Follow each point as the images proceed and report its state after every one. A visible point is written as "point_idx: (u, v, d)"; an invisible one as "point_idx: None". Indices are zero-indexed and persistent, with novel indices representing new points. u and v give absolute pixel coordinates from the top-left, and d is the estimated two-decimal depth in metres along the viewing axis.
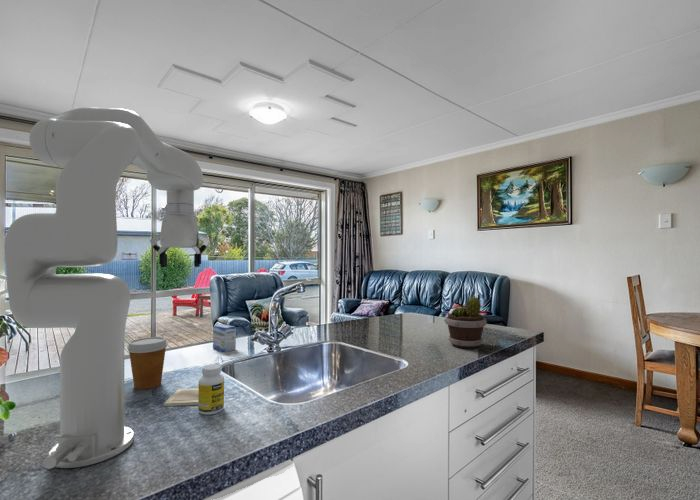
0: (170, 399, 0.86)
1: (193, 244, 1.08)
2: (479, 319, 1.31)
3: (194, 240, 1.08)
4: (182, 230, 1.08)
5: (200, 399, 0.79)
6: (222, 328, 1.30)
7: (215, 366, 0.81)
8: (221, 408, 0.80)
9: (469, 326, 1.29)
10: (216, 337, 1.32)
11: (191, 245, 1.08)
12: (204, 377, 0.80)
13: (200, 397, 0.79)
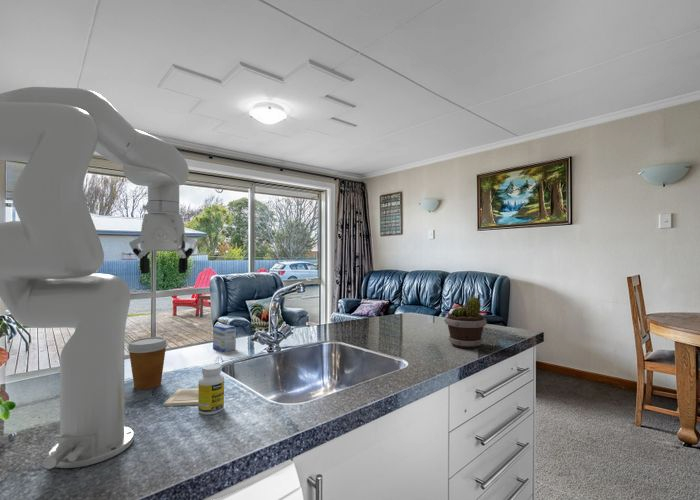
0: (170, 399, 0.86)
1: (177, 247, 0.95)
2: (479, 319, 1.31)
3: (178, 243, 0.95)
4: (164, 231, 0.94)
5: (200, 399, 0.79)
6: (222, 328, 1.30)
7: (215, 366, 0.81)
8: (221, 408, 0.80)
9: (469, 326, 1.29)
10: (216, 337, 1.32)
11: (175, 248, 0.94)
12: (204, 377, 0.80)
13: (200, 397, 0.79)
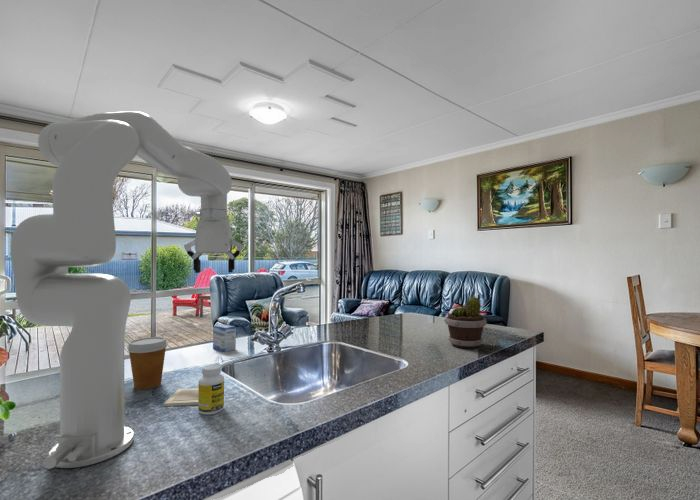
0: (170, 399, 0.86)
1: (227, 250, 1.08)
2: (479, 319, 1.31)
3: (228, 246, 1.08)
4: (216, 236, 1.07)
5: (200, 399, 0.79)
6: (222, 328, 1.30)
7: (215, 366, 0.81)
8: (221, 408, 0.80)
9: (469, 326, 1.29)
10: (216, 337, 1.32)
11: (225, 251, 1.08)
12: (204, 377, 0.80)
13: (200, 397, 0.79)
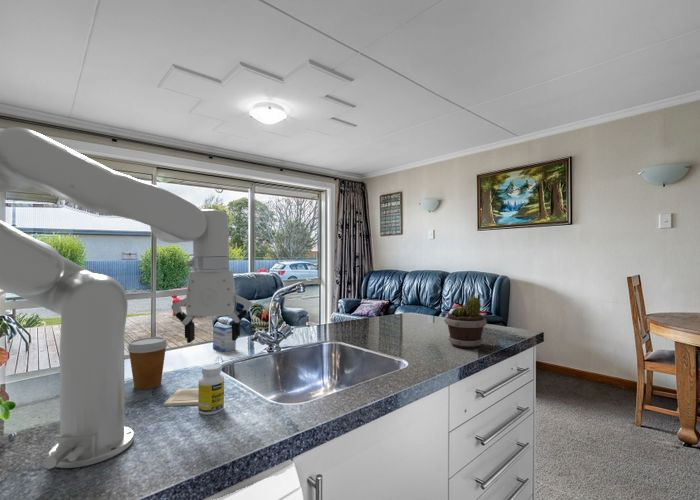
0: (170, 399, 0.86)
1: (230, 311, 0.80)
2: (479, 319, 1.31)
3: (232, 306, 0.80)
4: (215, 293, 0.79)
5: (200, 399, 0.79)
6: (222, 328, 1.30)
7: (215, 366, 0.81)
8: (221, 408, 0.80)
9: (469, 326, 1.29)
10: (216, 337, 1.32)
11: (228, 313, 0.79)
12: (204, 377, 0.80)
13: (200, 397, 0.79)
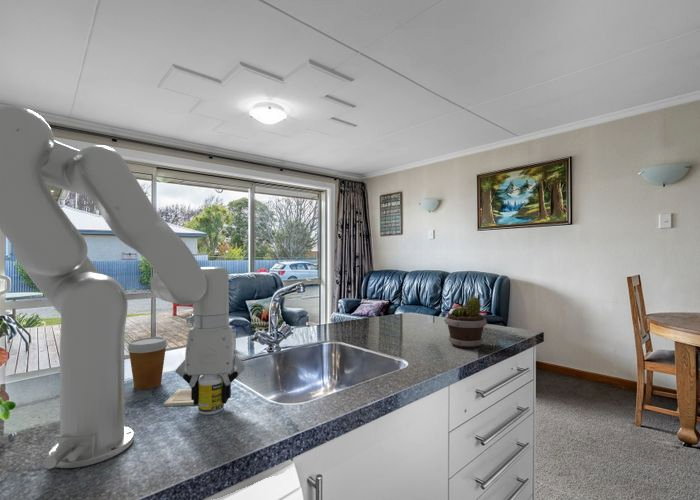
0: (170, 399, 0.86)
1: (229, 370, 0.79)
2: (479, 319, 1.31)
3: (231, 364, 0.79)
4: (214, 351, 0.79)
5: (200, 399, 0.79)
6: None
7: None
8: (221, 408, 0.80)
9: (469, 326, 1.29)
10: None
11: (227, 371, 0.79)
12: (204, 377, 0.80)
13: (200, 397, 0.79)
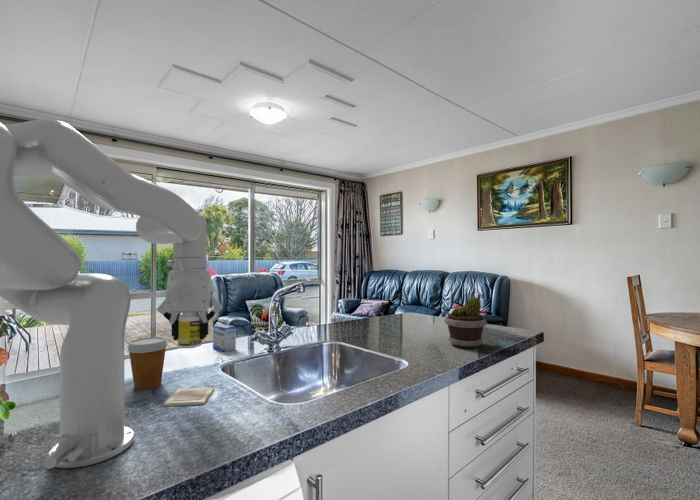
0: (170, 399, 0.86)
1: (206, 308, 0.86)
2: (479, 319, 1.31)
3: (207, 302, 0.87)
4: (192, 290, 0.86)
5: (179, 334, 0.86)
6: (222, 328, 1.30)
7: None
8: (199, 343, 0.88)
9: (469, 326, 1.29)
10: (216, 337, 1.32)
11: (204, 309, 0.86)
12: (183, 315, 0.87)
13: (179, 332, 0.86)
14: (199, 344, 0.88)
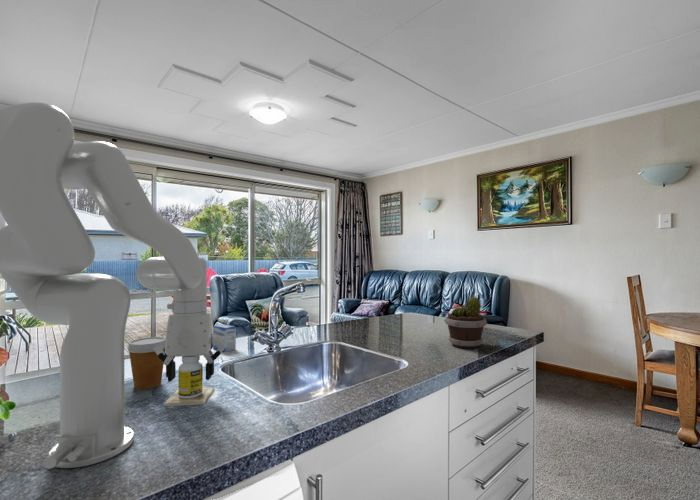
0: (170, 399, 0.86)
1: (206, 351, 0.86)
2: (479, 319, 1.31)
3: (207, 346, 0.87)
4: (192, 335, 0.86)
5: (180, 384, 0.86)
6: (222, 328, 1.30)
7: None
8: (199, 393, 0.88)
9: (469, 326, 1.29)
10: (216, 337, 1.32)
11: (204, 353, 0.86)
12: (184, 364, 0.87)
13: (180, 382, 0.86)
14: (199, 393, 0.88)
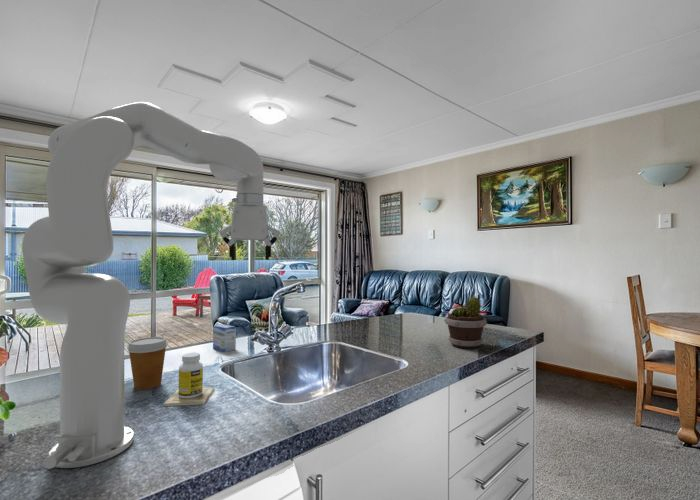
0: (170, 399, 0.86)
1: (265, 236, 1.04)
2: (479, 319, 1.31)
3: (266, 232, 1.04)
4: (253, 221, 1.03)
5: (180, 384, 0.86)
6: (222, 328, 1.30)
7: (194, 354, 0.88)
8: (200, 392, 0.88)
9: (469, 326, 1.29)
10: (216, 337, 1.32)
11: (263, 237, 1.04)
12: (184, 364, 0.87)
13: (180, 382, 0.86)
14: (200, 393, 0.88)
